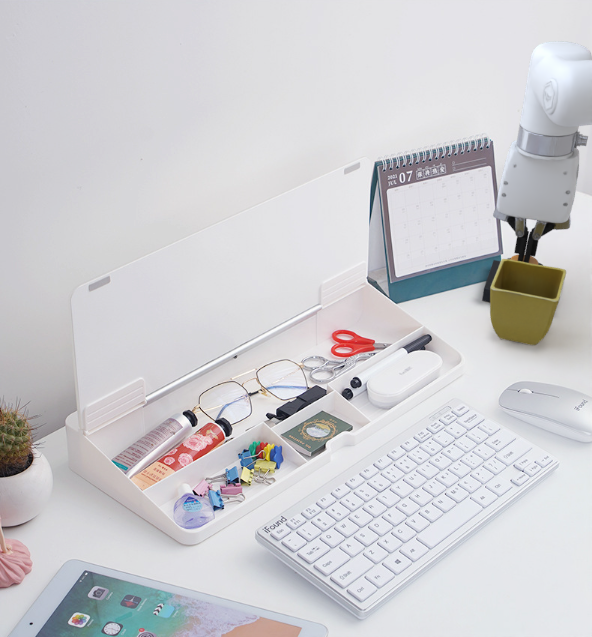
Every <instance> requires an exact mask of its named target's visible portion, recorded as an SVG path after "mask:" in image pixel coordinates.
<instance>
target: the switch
mask: <svg viewBox="0 0 592 637" xmlns="http://www.w3.org/2000/svg"><path fill="white" fill-rule="evenodd" d="M507 259H511V257H508V258H507ZM500 262H501V260H495V259H493V261H492V264H491V266H490V270H489V271H488V272H489V273H488V275H487V278H486V281H485V284H484V287H483V292H482V298H481V301H482V302H486V303H490V287H491V284H492V282H493V280H494V277H495V275H496V272H497V270H498V267H499V265H500ZM538 265H543V264H542V263H541V262H539V261H538Z"/></svg>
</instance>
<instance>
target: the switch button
mask: <svg viewBox="0 0 592 637" xmlns="http://www.w3.org/2000/svg"><path fill="white" fill-rule="evenodd" d="M518 256H519V254H514V255H512V256H511V257H510V258H511V259H510V260H515V261H518ZM524 257H525V255H524ZM521 262H522V261H521ZM523 262H524V258H523ZM538 262H539V261H538V259H536V257H534V256H530V260H529V263H531V264H536V265H538Z"/></svg>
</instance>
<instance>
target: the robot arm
mask: <svg viewBox="0 0 592 637" xmlns="http://www.w3.org/2000/svg"><path fill="white" fill-rule="evenodd" d="M529 60H530V61H529V65H528V71H527V76H526V77H527V78H526V84H525V90H524V96H523V101H522V108H521V113H520V119H519V126H518V131H517V138H516V140H513V141H512V142H511V144H510V146H509V148H508V152H507V154H506V158H505V162H504V165H503V168H502V169H503V170H502V172H501V173H502V175H501V178H500V183H499V188H498V193H497V198H496V206H495V207H494V211H493V213H492V216H493V218H495V219H497V220H499V221H502V222H506V223H507V225H509V226H510V228H511V229H512V230H513V231H514V232H515V237H516V242H515V247H514V254H516V255H519V256H518V261H522V262H523V258H524V262H526V263H529V260H530V256H532V257H534V258H536V254H537V250H538V245H539V240H540V239H541V238H542V237H543V236H545V235H547V234H548V233H550V232H552V231H553V230H556V231H558V230H560V231H561V230H569V229H570V228H571V225H572V224H571V223H572V218H571V213H572V209H573V205H574V202H575V197H576V192H577V191H576V190H577V184H578V177H579V169H580V150H579V149H578V147H587V144H588V140H589V135H583V134H582V133H581V131H579V127H584V126H592V52H591V50H590V49H588V48H587V46H584V45H582V44H580V43H577V42H572V41H562V40H561V41H560V40H554V41H546V42H542V43H540V44H538V45H537V46H536V47H535V48H533V51H532V53H531V55H530V59H529ZM527 220H532V221H535V225H534V227H533V228H531V231H530V230H529V228H528V226H527ZM524 255H525V257H524Z"/></svg>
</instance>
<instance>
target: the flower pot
mask: <svg viewBox="0 0 592 637" xmlns="http://www.w3.org/2000/svg"><path fill="white" fill-rule="evenodd" d="M500 261H501V262H500V265H499V267H498V270H497V272H496V275H495V277H494V280H493V282H492V284H491V287H490V302H489V316H490V322H491V326H492V329H493V331H494V332H495V334H496V336H497V337H498V338H499V339H501V340H505V341H509V342H510V341H511V342H515V343H521V344H525V345H530V346H536V345H538V344H539V343H540V342H542V340H543V339H544V338H545V337H546V336H547V334H548V332H549V331H550V329H551V326H552V324H553V320H554V318H555V314H556V311H557V308H558V305H559V302H560V298H561V295H562V291H563V287H564V282H565V279H566V275H567V270H566V269H564V268H561V267H555V266H547V265H544V264H542V265H536V264H531V263H526V262H521V261H515V260H510V259H508V258H501V259H500Z"/></svg>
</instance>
